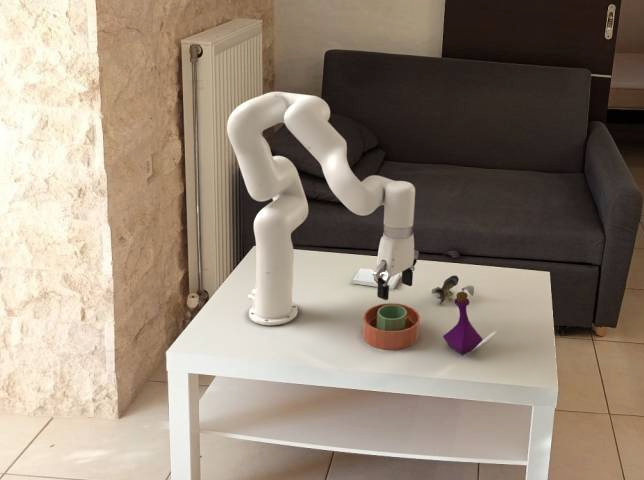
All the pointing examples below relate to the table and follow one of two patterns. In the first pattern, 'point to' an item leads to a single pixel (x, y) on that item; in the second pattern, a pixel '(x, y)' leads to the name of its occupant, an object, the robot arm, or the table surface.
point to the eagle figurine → (446, 288)
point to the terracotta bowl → (390, 338)
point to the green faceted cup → (391, 318)
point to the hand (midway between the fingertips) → (395, 291)
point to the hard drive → (372, 278)
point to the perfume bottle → (463, 327)
